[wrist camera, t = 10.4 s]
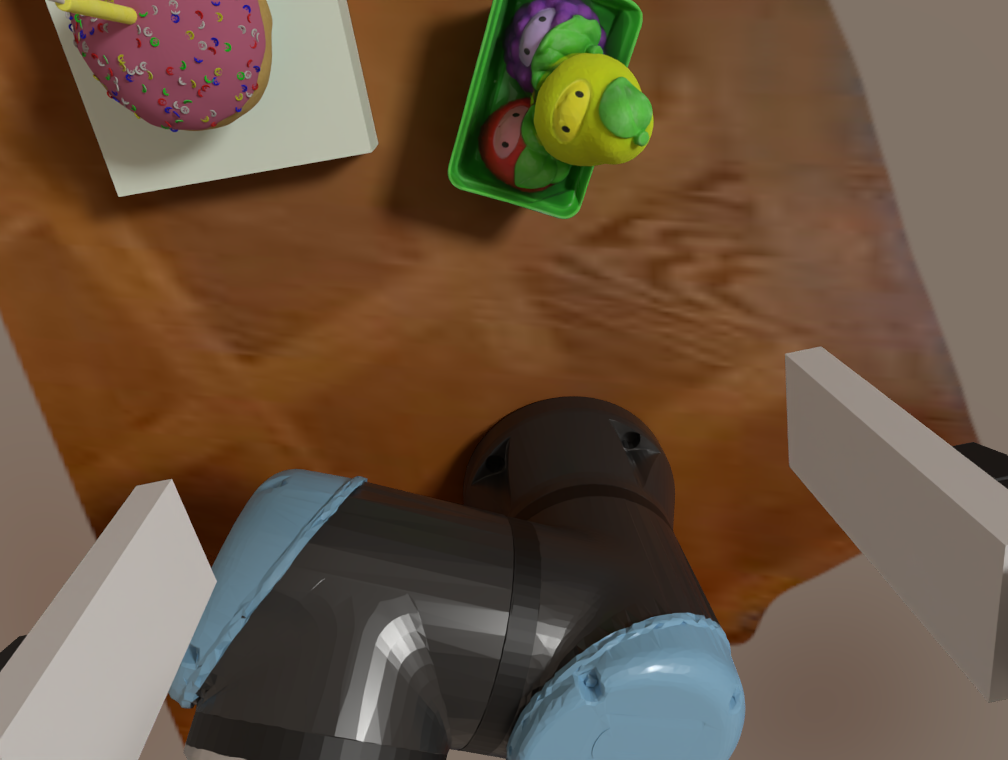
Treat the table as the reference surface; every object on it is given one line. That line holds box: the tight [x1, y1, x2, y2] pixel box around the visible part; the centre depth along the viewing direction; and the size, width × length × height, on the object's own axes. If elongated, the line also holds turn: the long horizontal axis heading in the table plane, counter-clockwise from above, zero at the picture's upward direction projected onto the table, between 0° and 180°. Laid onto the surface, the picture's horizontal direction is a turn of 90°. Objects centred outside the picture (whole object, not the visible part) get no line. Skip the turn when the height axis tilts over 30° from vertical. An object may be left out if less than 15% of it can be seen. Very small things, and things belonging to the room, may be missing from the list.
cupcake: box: [49, 0, 273, 132], centre depth 32 cm, size 9×8×12 cm
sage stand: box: [45, 0, 378, 197], centre depth 39 cm, size 14×14×4 cm
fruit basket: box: [448, 0, 653, 219], centre depth 38 cm, size 11×9×11 cm
